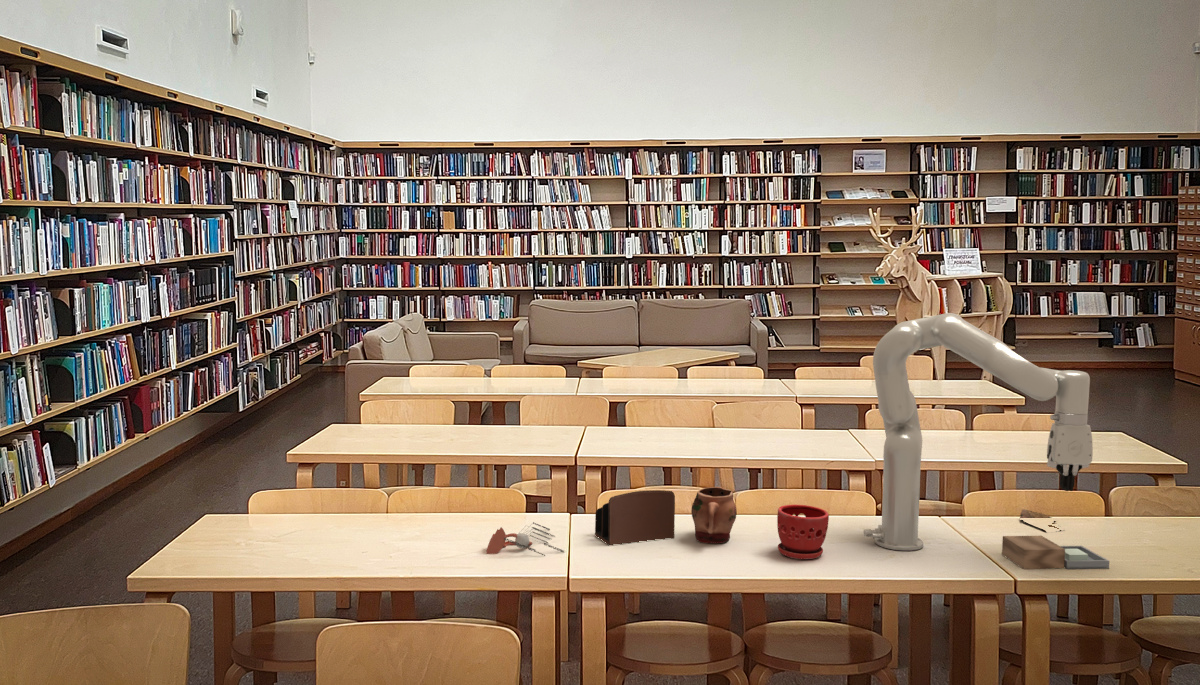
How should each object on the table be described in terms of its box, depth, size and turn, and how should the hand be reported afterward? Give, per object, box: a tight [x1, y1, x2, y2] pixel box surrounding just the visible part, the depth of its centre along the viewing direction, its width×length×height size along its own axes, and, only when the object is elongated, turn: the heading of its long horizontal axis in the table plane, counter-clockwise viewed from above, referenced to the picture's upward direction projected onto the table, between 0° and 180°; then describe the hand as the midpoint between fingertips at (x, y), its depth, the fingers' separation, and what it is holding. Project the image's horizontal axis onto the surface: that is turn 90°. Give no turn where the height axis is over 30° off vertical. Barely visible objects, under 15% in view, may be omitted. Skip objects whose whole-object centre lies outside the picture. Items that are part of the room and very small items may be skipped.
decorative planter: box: [691, 486, 738, 544], centre depth 279 cm, size 20×12×14 cm, turn 175°
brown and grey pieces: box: [486, 521, 565, 557], centre depth 276 cm, size 20×9×25 cm
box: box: [1059, 545, 1110, 570], centre depth 265 cm, size 11×13×2 cm
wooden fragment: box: [1019, 509, 1059, 529], centre depth 303 cm, size 26×11×1 cm, turn 169°
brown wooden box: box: [1001, 535, 1065, 570], centre depth 264 cm, size 10×12×5 cm
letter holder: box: [594, 489, 676, 546], centre depth 282 cm, size 10×20×14 cm, turn 113°
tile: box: [1065, 549, 1088, 561], centre depth 265 cm, size 5×5×2 cm
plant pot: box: [776, 504, 830, 560], centre depth 268 cm, size 13×13×12 cm
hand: (1066, 489), depth 263 cm, fingers closed
